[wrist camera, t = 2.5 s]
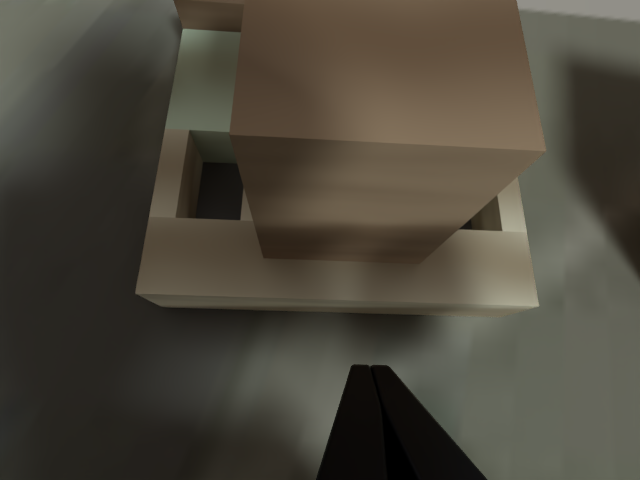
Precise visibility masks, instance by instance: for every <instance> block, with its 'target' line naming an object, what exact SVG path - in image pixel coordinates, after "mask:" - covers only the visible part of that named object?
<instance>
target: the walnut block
mask: <svg viewBox="0 0 640 480" xmlns="http://www.w3.org/2000/svg"><path fill="white" fill-rule="evenodd" d="M229 136H230V140H231V143H232V147H233V150H234V154H235V158H236V161H237V165H238V168H239V172H240V176H241V179H242V183H243V186H244V190H245V194H246V197H247V201H248V204H249V208H250V212H251V215H252V219H253V222H254V226H255V230H256V233H257V237H258V240H259V244H260V247H261V251H262V255H263V258H269V259H296V260H324V261H351V262H378V263H405V264H420V263H421V262H422V261H424V260H425V259H426V258H427V257H428V256H429V255H430V254H431V253H433V252H434V251H435V250H436V249H437V248H438V247H439V246H440V245H442V244H443V243H444V242H445V241H446V240H447V239H448V238H449V237H451V236H452V235H453V234H454V233H455V232H456V231H457V230H458V229H459V228H461V227H462V226H463V225H464V224H465V223H466V222H467V221H468V220H470V219H471V218H472V217H473V216H474V215H475V214H476V213H477V212H479V211H480V210H481V209H482V208H483V207H484V206H485V205H486V204H488V203H489V202H490V201H491V200H492V199H493V198H494V197H495V196H497V195H498V194H499V193H500V192H501V191H502V190H503V189H504V188H506V187H507V186H508V185H509V184H510V183H511V182H512V181H513V180H515V179H516V178H517V177H518V176H519V175H520V174H521V173H522V172H523V171H525V170H526V169H527V168H528V167H529V166H530V165H531V164H532V163H534V162H535V161H536V160H537V159H538V158H539V157H540V156H541V155H543V154H544V153H545V152H546V147H545V142H544V137H543V132H542V127H541V122H540V117H539V112H538V107H537V101H536V96H535V91H534V86H533V81H532V76H531V71H530V66H529V61H528V56H527V51H526V46H525V41H524V36H523V31H522V26H521V21H520V16H519V11H518V6H517V1H516V0H245V1H244V10H243V18H242V27H241V36H240V44H239V53H238V62H237V70H236V79H235V88H234V96H233V105H232V114H231V122H230V131H229Z"/></svg>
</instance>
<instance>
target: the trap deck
mask: <svg viewBox="0 0 640 480" xmlns="http://www.w3.org/2000/svg"><path fill="white" fill-rule="evenodd" d="M244 1H245V0H174V3H175V6H176V9H177V12H178V15H179V18H180V21H181V24H182V27H183V31H182V37H181V42H180V48H179V53H178V59H177V64H176V70H175V76H174V81H173V87H172V92H171V98H170V103H169V109H168V114H167V120H166V125H165V131H164V136H163V142H162V147H161V153H160V158H159V164H158V170H157V175H156V181H155V186H154V192H153V197H152V203H151V208H150V214H149V219H148V225H147V230H146V236H145V241H144V247H143V252H142V258H141V264H140V269H139V275H138V280H137V286H136V291H135V294H137V295H139V296H141V297H143V298H145V299H147V300H149V301H151V302H153V303H155V304H157V305H159V306H161V307H172V308H205V309H239V310H272V311H305V312H338V313H371V314H404V315H438V316H471V317H503V316H506V315H510V314H514V313H517V312H521V311H524V310H528V309H531V308H535V307H539V303H538V297H537V291H536V285H535V279H534V273H533V267H532V261H531V255H530V249H529V243H528V237H527V231H526V225H525V219H524V213H523V207H522V201H521V195H520V189H519V183H518V177H517V178H516V179H515V180H513V181H512V182H511V183H510V184H509V185H508V186H507V187H506V188H504V189H503V190H502V191H501V192H500V193H499V194H498V195H497V196H495V197H494V198H493V199H492V200H491V201H490V202H489V203H488V204H486V205H485V206H484V207H483V208H482V209H481V210H480V211H479V212H477V213H476V214H475V215H474V216H473V217H472V218H471V219H470V220H468V221H467V222H466V223H465V224H464V225H463V226H462V227H461V228H459V229H458V230H457V231H456V232H455V233H454V234H453V235H452V236H451V237H449V238H448V239H447V240H446V241H445V242H444V243H443V244H442V245H440V246H439V247H438V248H437V249H436V250H435V251H434V252H433V253H431V254H430V255H429V256H428V257H427V258H426V259H425V260H424V261H422V262H421V263H420V264H405V263H378V262H351V261H324V260H296V259H269V258H263V255H262V251H261V247H260V244H259V240H258V237H257V233H256V230H255V226H254V222H253V219H252V215H251V212H250V208H249V204H248V201H247V197H246V194H245V190H244V186H243V183H242V179H241V176H240V172H239V168H238V165H237V161H236V158H235V154H234V150H233V147H232V143H231V140H230V136H229V131H230V122H231V114H232V105H233V96H234V88H235V79H236V70H237V62H238V53H239V44H240V36H241V27H242V18H243V10H244Z"/></svg>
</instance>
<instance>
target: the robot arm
mask: <svg viewBox="0 0 640 480" xmlns="http://www.w3.org/2000/svg"><path fill="white" fill-rule="evenodd" d="M316 480H487V479H486V477H485V476H484V475H483V474H482V473H481V472H480V471H479V469H478V468H477V467H476V466H475V465H474V464H473V463H472V461H471V460H470V459H469V458H468V457H467V456H466V454H465V453H464V452H463V451H462V450H461V449H460V448H459V446H458V445H457V444H456V443H455V442H454V441H453V439H452V438H451V437H450V436H449V435H448V434H447V433H446V431H445V430H444V429H443V428H442V427H441V426H440V424H439V423H438V422H437V421H436V420H435V419H434V418H433V416H432V415H431V414H430V413H429V412H428V411H427V409H426V408H425V407H424V406H423V405H422V404H421V403H420V401H419V400H418V399H417V398H416V397H415V396H414V394H413V393H412V392H411V391H410V390H409V389H408V388H407V386H406V385H405V384H404V383H403V382H402V381H401V379H400V378H399V377H398V376H397V375H396V374H395V373H394V371H393V370H392V369H391V368H390V367H389V366H387V365H372V366H368V365H356V364H354V365H352V366H351V368H350V372H349V375H348V378H347V381H346V385H345V388H344V391H343V394H342V397H341V401H340V404H339V407H338V410H337V413H336V417H335V420H334V423H333V426H332V430H331V433H330V436H329V439H328V442H327V446H326V449H325V452H324V455H323V458H322V462H321V465H320V468H319V471H318V474H317V478H316Z"/></svg>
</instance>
